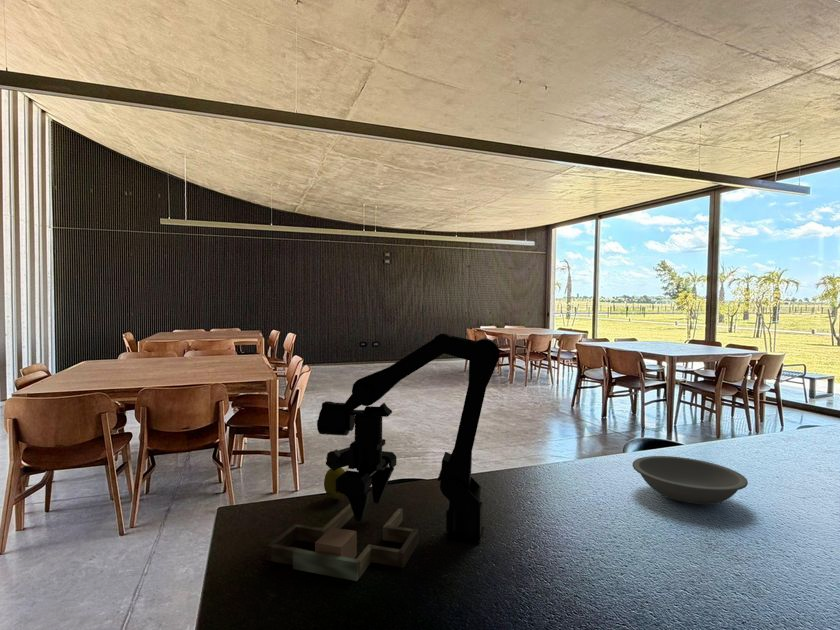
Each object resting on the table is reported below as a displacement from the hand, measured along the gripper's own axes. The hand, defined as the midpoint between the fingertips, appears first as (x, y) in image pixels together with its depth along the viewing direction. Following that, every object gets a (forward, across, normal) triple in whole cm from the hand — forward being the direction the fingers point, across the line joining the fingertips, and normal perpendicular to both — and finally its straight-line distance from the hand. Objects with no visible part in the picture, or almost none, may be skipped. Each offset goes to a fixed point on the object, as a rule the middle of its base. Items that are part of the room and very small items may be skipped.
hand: (367, 511), depth 92 cm
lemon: (+3, -11, -13) cm, 17 cm away
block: (+3, +14, 0) cm, 14 cm away
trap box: (+3, +6, 0) cm, 7 cm away
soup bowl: (+3, -38, +68) cm, 78 cm away
